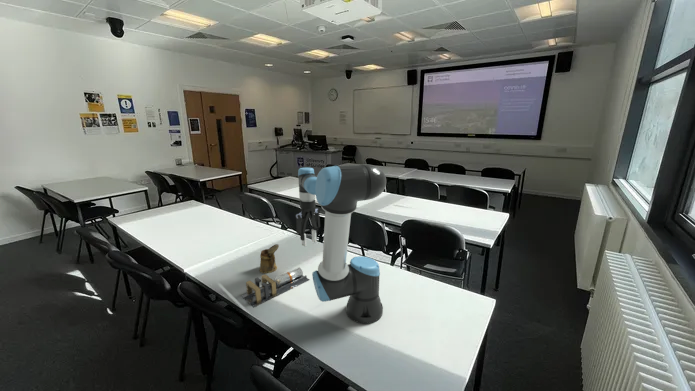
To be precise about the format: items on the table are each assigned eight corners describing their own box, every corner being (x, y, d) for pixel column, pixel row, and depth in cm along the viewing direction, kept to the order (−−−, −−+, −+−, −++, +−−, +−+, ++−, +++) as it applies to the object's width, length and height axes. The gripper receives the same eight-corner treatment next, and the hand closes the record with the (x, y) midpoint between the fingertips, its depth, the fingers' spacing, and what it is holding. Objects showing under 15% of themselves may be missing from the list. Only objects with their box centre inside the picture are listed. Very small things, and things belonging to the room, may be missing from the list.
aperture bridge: (269, 297, 125) (268, 285, 123) (266, 299, 124) (265, 286, 122) (258, 289, 131) (257, 277, 130) (256, 290, 130) (254, 278, 129)
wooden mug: (270, 280, 140) (267, 247, 136) (256, 271, 149) (253, 239, 145) (285, 273, 147) (283, 241, 142) (271, 264, 156) (268, 234, 151)
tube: (298, 275, 144) (296, 266, 144) (303, 276, 141) (301, 267, 140) (274, 286, 134) (272, 277, 134) (279, 288, 131) (277, 278, 131)
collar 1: (261, 301, 122) (260, 288, 121) (257, 303, 121) (255, 290, 119) (251, 292, 129) (250, 280, 127) (247, 294, 127) (245, 282, 126)
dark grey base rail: (310, 281, 139) (310, 278, 139) (253, 309, 119) (253, 305, 118) (295, 272, 147) (295, 269, 147) (240, 297, 127) (240, 293, 126)
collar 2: (276, 294, 128) (275, 281, 126) (272, 296, 126) (271, 283, 125) (266, 286, 134) (265, 274, 132) (262, 287, 132) (261, 275, 131)
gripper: (317, 194, 145) (318, 236, 151) (286, 202, 132) (289, 247, 138) (327, 197, 140) (328, 240, 146) (295, 205, 127) (298, 252, 133)
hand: (309, 243), depth 142 cm, fingers open, 6 cm apart
